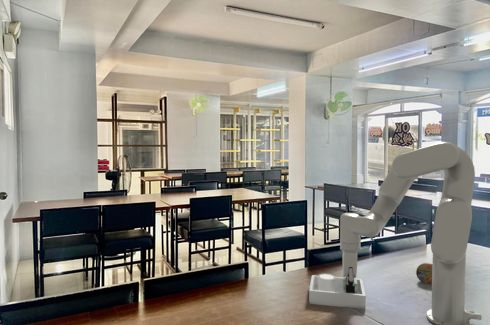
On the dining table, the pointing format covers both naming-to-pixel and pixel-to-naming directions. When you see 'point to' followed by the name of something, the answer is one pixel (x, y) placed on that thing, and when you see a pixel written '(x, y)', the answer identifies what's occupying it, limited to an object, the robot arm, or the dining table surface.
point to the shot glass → (326, 282)
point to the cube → (346, 283)
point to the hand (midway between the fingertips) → (349, 291)
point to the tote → (337, 295)
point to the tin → (425, 273)
